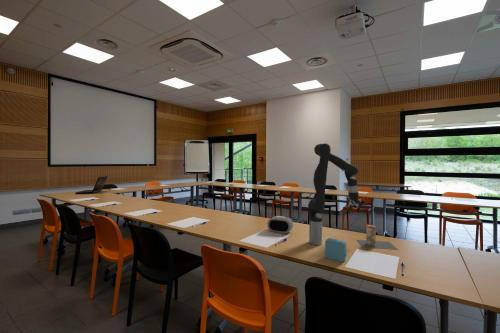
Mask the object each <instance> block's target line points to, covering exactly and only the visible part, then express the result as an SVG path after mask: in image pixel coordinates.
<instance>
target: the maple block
mask: <svg viewBox="0 0 500 333" xmlns="http://www.w3.org/2000/svg"><path fill="white" fill-rule="evenodd" d="M365 230H366V233H365V234H366V235H365V237H366V238H365V240H366V244H367V245H368V246H375V244H376V241H377V239H376V238H377V234H376V233H377V226H375V225H374V224H366V229H365Z"/></svg>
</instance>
